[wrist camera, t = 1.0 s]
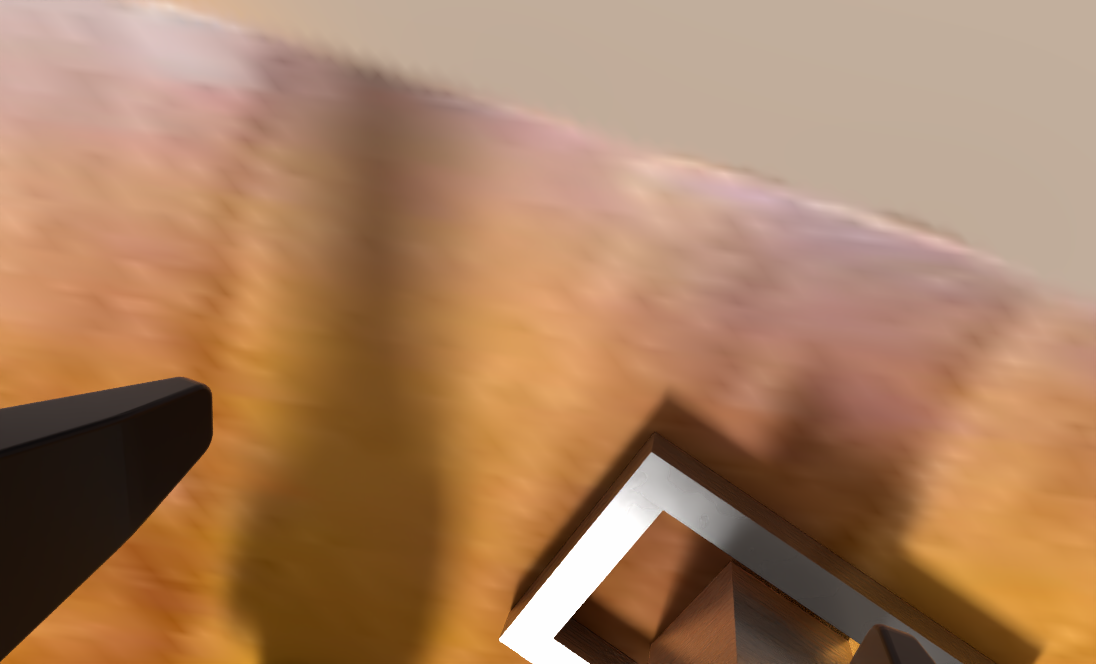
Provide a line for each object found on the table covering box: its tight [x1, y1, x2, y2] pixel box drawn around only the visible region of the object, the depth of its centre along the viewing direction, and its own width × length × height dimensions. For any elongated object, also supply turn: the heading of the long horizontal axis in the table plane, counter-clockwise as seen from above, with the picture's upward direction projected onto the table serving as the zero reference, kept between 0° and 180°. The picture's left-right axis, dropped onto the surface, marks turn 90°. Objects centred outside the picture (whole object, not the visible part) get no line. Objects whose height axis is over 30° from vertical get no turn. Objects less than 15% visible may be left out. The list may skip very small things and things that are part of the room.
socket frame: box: [499, 432, 996, 664], centre depth 24 cm, size 10×15×2 cm, turn 58°
